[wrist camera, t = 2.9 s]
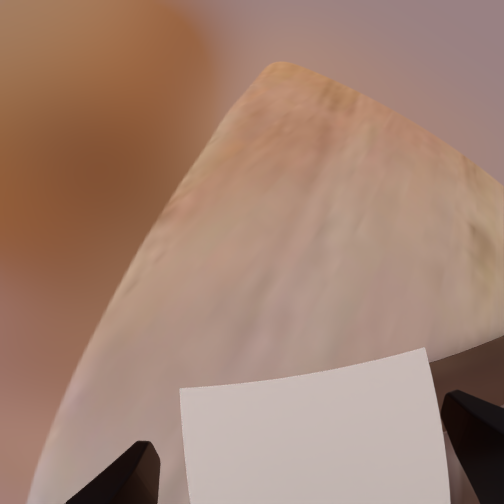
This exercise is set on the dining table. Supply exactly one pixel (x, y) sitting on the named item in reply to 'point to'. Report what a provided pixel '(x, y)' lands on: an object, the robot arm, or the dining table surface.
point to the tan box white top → (319, 437)
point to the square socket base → (474, 383)
